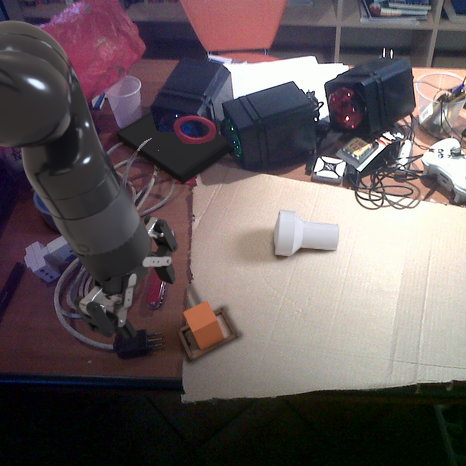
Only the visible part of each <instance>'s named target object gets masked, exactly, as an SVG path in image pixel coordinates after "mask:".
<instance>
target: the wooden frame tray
mask: <svg viewBox="0 0 466 466" xmlns="http://www.w3.org/2000/svg"><path fill="white" fill-rule="evenodd" d="M213 312H214V314H215V316H216V317H217V316H219V315H222V318H223V319H224V321H225V323H226V325H227V326H228V328H229V330H230V332H231V334H230V335H229V336H227V337H224V339H222V340H220V341H218V342H216V343H214V344H212V345H210V346H208V347H206V348H204V349H202V350H199V351H197V352H195V353H194V354H193V353H192V351H191V348H190V346H189V344H188V342H187V339H186V338H185V335H184V334H183V333H185V332H187V331H189V330H191V329H190V327H189V324H188V323H187V324H186V325H183V326H182V327H180V328H178V329H177V330H176V332H177V334H178V337H179V339H180V341H181V343H182V346H183V347H184V349H185V352H186V354H187V356H188V358H189V360H190V362H194V361H195V360H197V359H199V358H201V357H203V356H205V355H207V354H209V353H211V352H213V351H215V350H217V349H218V348H220V347H223V346H224V345H226V344H229V343H230V342H231V341H234V340H235V339H237V338H239V334H238V332H237V330H236V329H235V327H234V325H233V324H232V321H231V320H230V317H229V316H228V314H227V312H226V310H225V308H224V307H223V306H222V307H221V308H219V309H216V310H213Z"/></svg>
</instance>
